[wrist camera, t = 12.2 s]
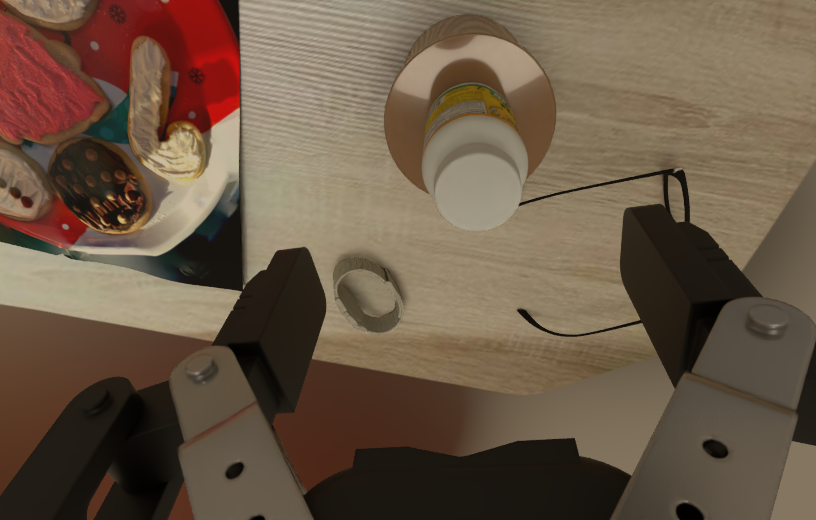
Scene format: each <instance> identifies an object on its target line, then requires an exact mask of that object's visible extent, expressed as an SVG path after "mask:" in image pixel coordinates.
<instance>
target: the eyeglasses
mask: <svg viewBox="0 0 816 520" xmlns="http://www.w3.org/2000/svg"><path fill="white" fill-rule="evenodd" d="M660 174H664V198H665V206H666V210H667V211H668V212H669V214H670V215H671V212H670V207H669V199H668V175H671V176H674V177H675V178H677V179H678V180H679V181H680V183H681V186H682V192H683V197H684V208H685V222H687V221H688V222H689V223H690V205H689V195H688V188H687V182H686V177H685V173H684V171H683V168H673V169H668V170H663V171H658V172H653V173H648V174H644V175H639V176H634V177H629V178H624V179H620V180H615V181H610V182H605V183H600V184H596V185H591V186H586V187H581V188H577V189H572V190H567V191H563V192H559V193H554V194H550V195H547V196H543V197H539V198H535V199H532V200H528V201H525V202H521V203H519V206H521V205H524V204H527V203H530V202H534V201H537V200H541V199H544V198H548V197H552V196H556V195H560V194H564V193H569V192H573V191H578V190H583V189H588V188H593V187H598V186H603V185H608V184H613V183H618V182H624V181H629V180H634V179H639V178H645V177H650V176H655V175H660ZM671 216H672V215H671ZM672 218H673V217H672ZM517 311H518V312H519V313H520V314H521V315H522V316H523V317H524V318H525V319H526V320H527V321H528V322H529V323H530V324H532V325H533V326H535V327H536V328H538V329H540V330H542V331H545V332H547V333H550V334H553V335H557V336H565V337H577V336H585V335H590V334H595V333H600V332H605V331H609V330H614V329H618V328H622V327H627V326H631V325H635V324H639V323H642V321H641V320H639V321H635V322H632V323H628V324H624V325H620V326H616V327H612V328H608V329H604V330H600V331H595V332H590V333H585V334H578V335H567V334H559V333H555V332H552V331H549V330H547V329H545V328H543V327H542V326H540V325H539V324H538V323H537V322H536V321H535V320H534V319H533V318H532V317H531V316H530V315H529V314H528V313H527V312H526V311H525V310H517Z"/></svg>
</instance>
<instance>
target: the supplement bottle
mask: <svg viewBox="0 0 816 520" xmlns="http://www.w3.org/2000/svg"><path fill="white" fill-rule="evenodd" d="M527 173H528V155H527V151H526V148H525V145H524V142H523V139H522V137H521V134H520V132H519V129H518V126H517V123H516V121H515V118H514V116H513V113H512V110H511V108H510V106H509V104H508V103H507V101H506V100H505V99H504V98H503V96H501V95H500V94H499V93H498V92H497V91H495V90H494V89H492V88H491V87H489V86H487V85H484V84H481V83H474V82H471V83H462V84H459V85H456V86H453V87H451V88H449V89H448V90H446V91H445V92H443V93H442V94H441V95H440V96H439V97H438V98H437V99H436V100H435V102H434V103H433V105H432V106H431V108H430V111H429V113H428V116H427V120H426V126H425V137H424V146H423V156H422V176H423V181H424V184H425V186H426V188H427V190H428V192H429V194H430V195H431V197H432V198H433V199H434V200H435V203H436V207H437V209H438V211H439V212H440V214H441V215H442V217H443V218H444V219H445V220H446V221H447V222H449V223H450V224H451V225H453V226H455V227H457V228H459V229H462V230H466V231H473V232H479V231H486V230H490V229H493V228H496V227H498V226H500V225H501V224H503V223H504V222H506V221H507V220H508V219H509V218H510V217H511V216H512V215H513V214H514V213H515V211H516V210H517V208H518V206H519V203H520V200H521V196H522V187H523V185H524V183H525V180H526V177H527Z"/></svg>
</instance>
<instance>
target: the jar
mask: <svg viewBox="0 0 816 520" xmlns="http://www.w3.org/2000/svg"><path fill="white" fill-rule="evenodd" d="M471 82H474V83H481V84H484V85H487V86H489V87H491V88H492V89H494V90H495V91H497V92H498V93H499V94H500V95H501V96H503V98H504V99H505V100H506V101H507V103H508V104H509V106H510V108H511V110H512V113H513V116H514V118H515V121H516V123H517V126H518V129H519V132H520V134H521V137H522V139H523V142H524V145H525V148H526V151H527V155H528V173H527V177H526V179H527V178H528V177H529V176H530V175H531V174H532V173H533V172H534V170H535V169H536V168H537V167H538V166H539V164H540V163H541V161H542V160H543V158H544V156H545V155H546V153H547V151H548V148H549V146H550V144H551V141H552V138H553V134H554V129H555V124H556V104H555V98H554V93H553V89H552V87H551V84H550V81H549V79H548V77H547V75H546V73H545V72H544V70H543V68H542V67H541V66H540V64H539V63H538V62H537V60H536V59H535V58H534V57H533V56H532V55H531V54H530V53H529V52H528V51H527V50H526V49H525V48H524V47H522V46H521V45H520V44H519V43H518V42H517V41H516V39H515V38H514V37H513V35H512V34H511V33H510V32H509V31H508V30H507V29H506V28H505V27H503V26H502V25H500V24H499V23H497V22H495V21H493V20H492V19H489V18H486V17H483V16H478V15H466V14H465V15H456V16H452V17H449V18H446V19H444V20H441V21H439V22H437V23H436V24H434V25H432V26H431V27H430V28H428V29H427V30H426V31H425V32H424V33H423V34H422V35H421V36H420V37H419V38H418V39H417V41H416V42H415V43H414V45H413V46H412V48H411V50H410V52H409V54H408V56H407V59H406V61H405V64H404V66H403V67H402V68H401V70H400V71H399V73H398V75H397V76H396V78H395V80H394V82H393V85H392V87H391V90H390V92H389V95H388V99H387V103H386V107H385V115H384V129H385V136H386V141H387V145H388V148H389V151H390V153H391V155H392V158H393V160H394V161H395V163H396V165H397V166H398V168H399V169H400V170H401V172H402V173H403V174H404V176H406V177H407V178H408V179H409V180H410V181H411V182H412V183H413V184H414V185H416V186H417V187H418V188H419V189H421V190H423V191H425V192H426V193H428V194H429V192H428V190H427V188H426V186H425V184H424V181H423V176H422V156H423V146H424V137H425V126H426V120H427V116H428V113H429V111H430V108H431V106H432V105H433V103H434V102H435V100H436V99H437V98H438V97H439V96H440V95H441V94H442V93H443V92H445V91H446V90H448V89H449V88H451V87H453V86H456V85H459V84H462V83H471Z"/></svg>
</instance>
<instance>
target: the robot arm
mask: <svg viewBox="0 0 816 520" xmlns="http://www.w3.org/2000/svg"><path fill="white" fill-rule="evenodd" d="M620 271H621V277H622V281H623V284H624V287H625V289H626V291H627V293H628V295H629V297H630V299H631V301H632V303H633V305H634V307H635V309H636V311H637V313H638V315H639V317H640V319H641V321H642V323H643V325H644V327H645V329H646V331H647V333H648V335H649V337H650V340H651V342H652V344H653V346H654V348H655V350H656V352H657V354H658V356H659V358H660V360H661V361H662V364H663V366H664V368H665V370H666V372H667V374H668V376H669V378H670V380H671V382H672V384H673V386H674V388H675V391H674V392H673V395H672V396H671V398H670V401H669V403H668V404H667V407H666V409H665V410H664V412H663V414H662V416H661V419H660V421H659V423H658V425H657V427H656V429H655V431H654V432H653V435H652V436H651V438H650V440H649V442H648V444H647V446H646V449H645V450H644V452H643V455H642V457H641V458H640V460H639V462H638V464H637V466H636V468H635V470H634V472H633V474H632V476H631V475H629V474H628V473H626V472H624V471H622V470H620V469H618V468H616V467H613V466H611V465H609V464H606V463H604V462H601V461H598V460H594V459H591V458H586V457H581V456H579V453H578V449H577V445H576V441H575V438H567V439H548V440H529V441H516V442H513V443H509V444H506V445H502V446H499V447H496V448H493V449H489V450H485V451H482V452H479V453H475V454H472V455H468V456H464V457H457V456H451V455H447V454H442V453H437V452H431V451H426V450H421V449H416V448H411V447H389V448H369V449H356V451H355V457H354V462H353V467H350V468H347V469H345V470H342V471H340V472H338V473H336V474H333V475H332V476H330V477H328V478H326V479H324V480H323V481H321V482H320V483H319V484H317V485H316V486H314V487H313V488H312V489H311V490H309V491H308V492H307V491H306V489H305V487H304V485H303V484H302V482H301V480H300V478H299V476H298V474H297V472H296V470H295V468H294V466H293V464H292V462H291V460H290V458H289V456H288V454H287V452H286V450H285V448H284V446H283V444H282V442H281V440H280V438H279V436H278V434H277V432H276V430H275V428H274V426H273V425H272V424H273V421H274V418H275V415H276V414H279V413H293V412H295V408H296V405H297V402H298V399H299V396H300V393H301V390H302V387H303V383H304V380H305V377H306V374H307V371H308V368H309V364H310V361H311V358H312V355H313V352H314V349H315V346H316V343H317V340H318V336H319V333H320V330H321V327H322V324H323V321H324V318H325V314H326V298H325V293H324V290H323V287H322V285H321V282H320V279H319V276H318V273H317V271H316V268H315V265H314V262H313V260H312V257H311V254H310V252H309V250H308V249H307V248H305V247H301V248H293V249H285V250H278V251H277V252H276V253H275V254H274V256H273V258H272V260H271V262H270V264H269V266H268V268H267V269H266V270H262V271H260V272H259V273H258V274H257V275H256V276H255V277H253V278H252V279H251V280H250V281H249V282H248V283H247V284H246V286H245V288H244V289H243V291H242V293H241V295H240V299H238V300H237V302H236V304H235V305H234V307H233V310H232V311H231V312H230V314H229V316H228V318H227V319H226V321H225V323H224V325H223V326H222V328H221V330H220V332H219V333H218V335H217V337H216V339H215V340H214V342H213V344H212V346H210V347H207V348H203V349H200V350H198V351H196V352H194V353H193V354H191V355H189V356H188V357H186V358H185V359H184V360H183V361H181V362H180V363H179V364H178V365H177V366H176V368H175V369H174V370H173V372H172V374H171V376H170V378H169V380H168V381H166V382H162V383H159V384H156V385H153V386H150V387H147V388H144V389H141V390H138V391H137V390H136V389H135V388H134V386H133V385H132V384H131V382H130V381H129V380H128V379H127V378H124V377H112V378H107V379H104V380H102V381H99V382H97V383H95V384H93V385H91V386H89V387H88V388H86V389H85V390H83V391H82V392H81V393H79V394H78V395H77V396H76V397H75V398H74V399H73V400H72V401H71V402H70V403H69V404H68V405H67V407H66V408H65V409H64V411H63V412H62V413H61V415H60V416H59V417H58V419H57V420H56V421H55V423H54V424H53V425H52V427H51V428H50V429H49V431H48V432H47V433H46V435H45V436H44V438H43V439H42V440H41V442H40V443H39V444H38V446H37V447H36V448H35V450H34V451H33V453H32V454H31V455H30V456H29V458H28V459H27V461H26V462H25V463H24V465H23V466H22V467H21V469H20V470H19V471H18V473H17V474H16V475H15V477H14V478H13V480H12V481H11V482H10V484H9V485H8V486H7V488H6V489H5V490H4V492H3V493H2V494H1V496H0V520H87V509H88V505H89V503H90V501H91V499H92V497H93V495H94V494H95V492H96V490H97V488H98V487H99V485H100V483H101V481H102V480H103V478H104V476H105V474H106V473H109V475H110V476H111V477H112V478H113V479H114V480H115V482H114V484H113V485H112V487H111V489H110V491H109V493H108V495H107V496H106V498H105V500H104V502H103V504H102V505H101V507H100V509H99V511H98V513H97V515H96V516H95V518H94V520H168V517H169V515H170V512H171V510H172V508H173V506H174V503H175V501H176V498H177V496H178V494H179V491H180V489H181V487H182V484H183V482H184V480H185V484H186V488H187V492H188V495H189V500H190V503H191V507H192V511H193V515H194V519H195V520H770V518H771V514H772V511H773V507H774V504H775V500H776V496H777V493H778V489H779V485H780V482H781V478H782V474H783V471H784V467H785V463H786V459H787V456H788V452H789V448H790V445H791V441H795V442H800V443H805V444H810V445H815V446H816V325H815V323H814V322H813V320H812V319H811V318H810V317H809V316H808V315H807V314H805V313H804V312H803V311H801V310H800V309H798V308H796V307H794V306H792V305H789V304H787V303H785V302H782V301H779V300H775V299H770V298H764V297H763V296H762V295H761V294H760V293H759V292H758V291H757V289H755V287H754V286H753V285H752V284H751V282H750V281H749V280H748V279H747V278H746V277H745V276H744V274H743V273H742V272H741V271H740V270H739V268H738V267H737V266H736V265H735V264H734V263H733V261H732V260H729V257H728V256H727V254H726V253H725V252H724V251H723V250H722V249H721V248H720V249H719V245H718V244H717V243H716V242H715V240H714V239H713V238H712V237H711V236H710V235H709V233H708V232H706V231H704V230H702V229H701V228H699V227H697V226H695V225H693V224H691V223H689V222H688V221H687V222H679V223H676V221H675V220H674V219H673V218H672V216H671V215H670V214H669V212H668V211H667V210H666V209H665V207H664V206H663V205H662V204H654V205H646V206H638V207H630V208H626V209H625V212H624V216H623V228H622V241H621V254H620Z"/></svg>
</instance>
